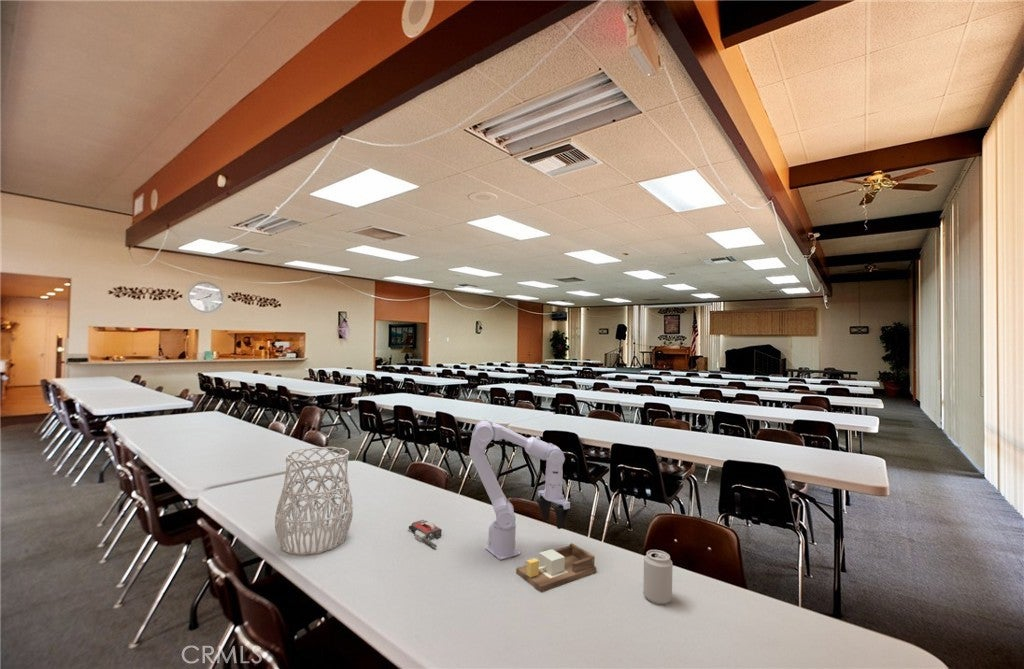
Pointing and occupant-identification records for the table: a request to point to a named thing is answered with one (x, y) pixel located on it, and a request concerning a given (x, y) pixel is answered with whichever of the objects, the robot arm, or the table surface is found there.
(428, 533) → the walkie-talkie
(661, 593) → the can
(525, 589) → the table surface
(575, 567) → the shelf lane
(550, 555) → the block
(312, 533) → the vase
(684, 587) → the table surface
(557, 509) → the robot arm
